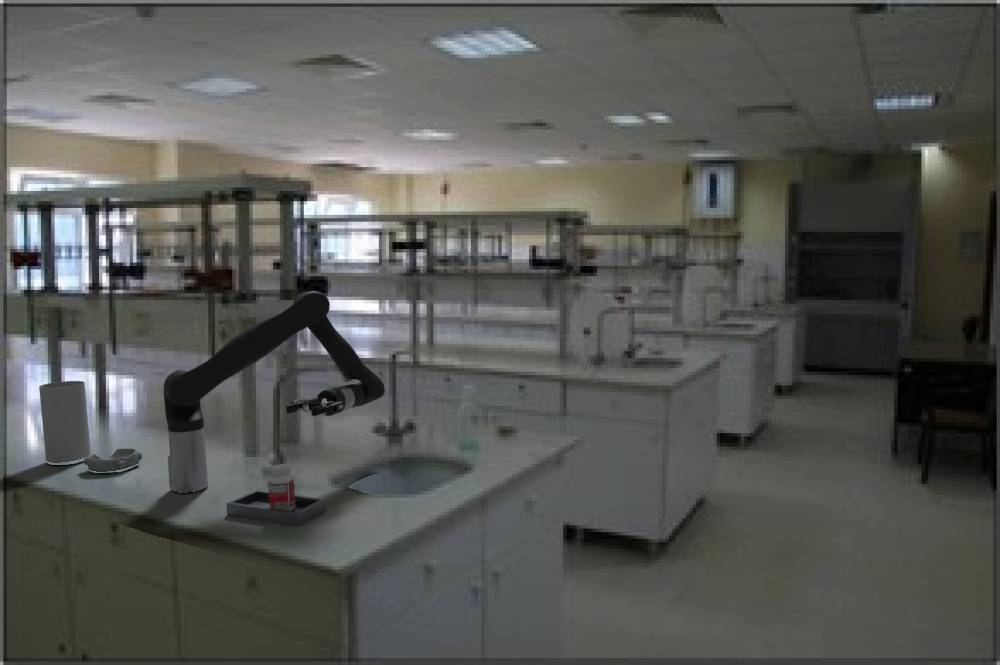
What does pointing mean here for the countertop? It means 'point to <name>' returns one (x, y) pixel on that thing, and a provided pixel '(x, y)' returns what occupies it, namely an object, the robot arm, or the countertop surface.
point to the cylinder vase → (65, 421)
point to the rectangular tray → (259, 509)
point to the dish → (114, 460)
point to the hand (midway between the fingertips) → (299, 411)
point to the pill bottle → (281, 488)
